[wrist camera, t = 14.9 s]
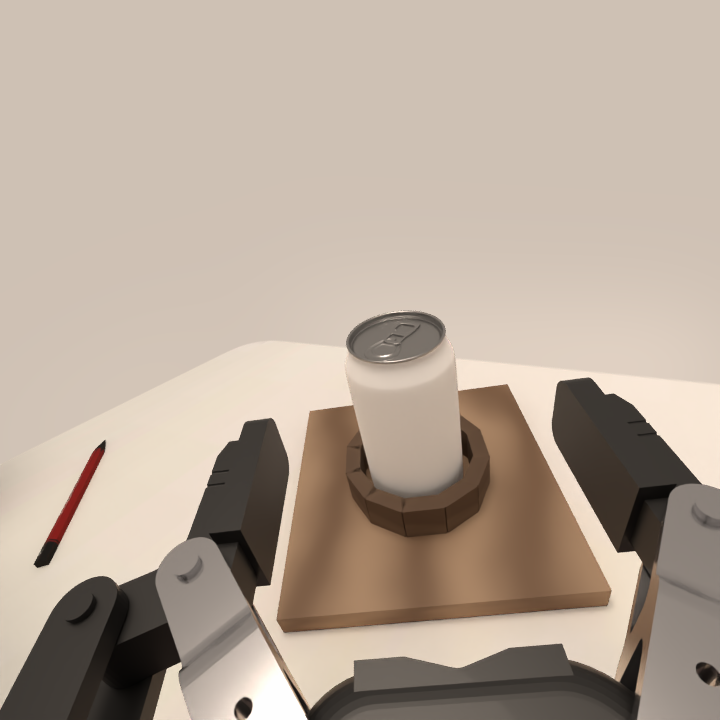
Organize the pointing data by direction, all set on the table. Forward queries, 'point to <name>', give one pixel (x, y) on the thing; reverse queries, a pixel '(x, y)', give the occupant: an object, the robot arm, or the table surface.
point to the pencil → (69, 508)
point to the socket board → (433, 530)
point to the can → (406, 402)
